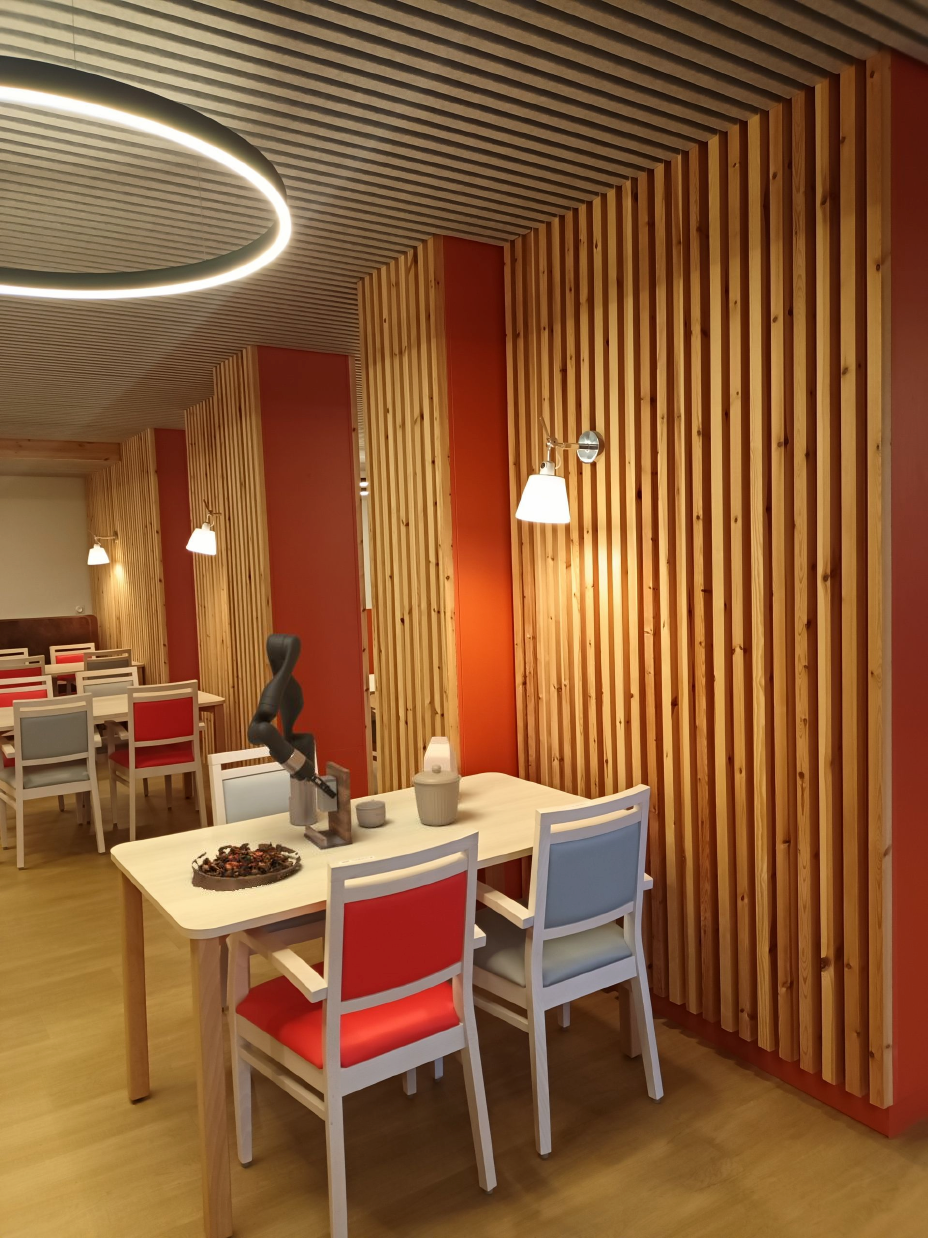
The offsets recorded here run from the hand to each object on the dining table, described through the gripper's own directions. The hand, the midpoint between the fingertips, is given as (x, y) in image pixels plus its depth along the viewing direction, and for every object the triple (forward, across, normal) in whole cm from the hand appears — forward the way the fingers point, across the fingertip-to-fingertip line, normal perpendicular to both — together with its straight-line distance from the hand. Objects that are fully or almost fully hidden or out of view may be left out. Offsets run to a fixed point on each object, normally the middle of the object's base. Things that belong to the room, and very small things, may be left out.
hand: (331, 794), depth 311 cm
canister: (+39, -1, -17) cm, 43 cm away
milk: (+49, +24, -27) cm, 61 cm away
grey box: (+2, 0, +5) cm, 5 cm away
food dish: (-13, -17, +36) cm, 42 cm away
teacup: (+24, +10, -2) cm, 27 cm away
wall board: (+10, 0, +12) cm, 16 cm away
